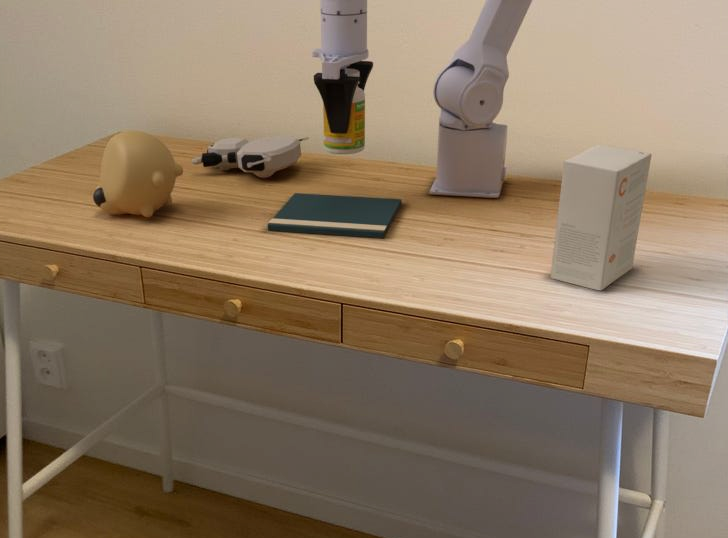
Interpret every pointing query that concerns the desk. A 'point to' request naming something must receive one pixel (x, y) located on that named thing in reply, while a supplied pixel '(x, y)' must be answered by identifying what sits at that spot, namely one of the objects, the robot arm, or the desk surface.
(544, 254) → the desk surface
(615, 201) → the small box
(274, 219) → the teal notebook
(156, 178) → the toy pig
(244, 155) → the robot toy
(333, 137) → the supplement bottle
